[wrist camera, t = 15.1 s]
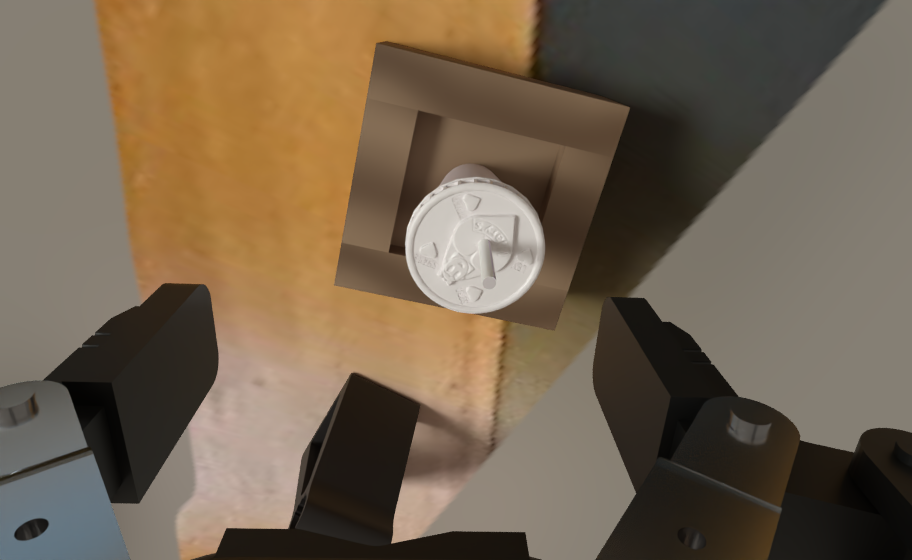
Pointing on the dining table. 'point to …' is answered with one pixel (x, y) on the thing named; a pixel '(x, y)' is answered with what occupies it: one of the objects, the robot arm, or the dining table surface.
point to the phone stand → (356, 465)
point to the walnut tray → (473, 142)
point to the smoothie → (474, 242)
